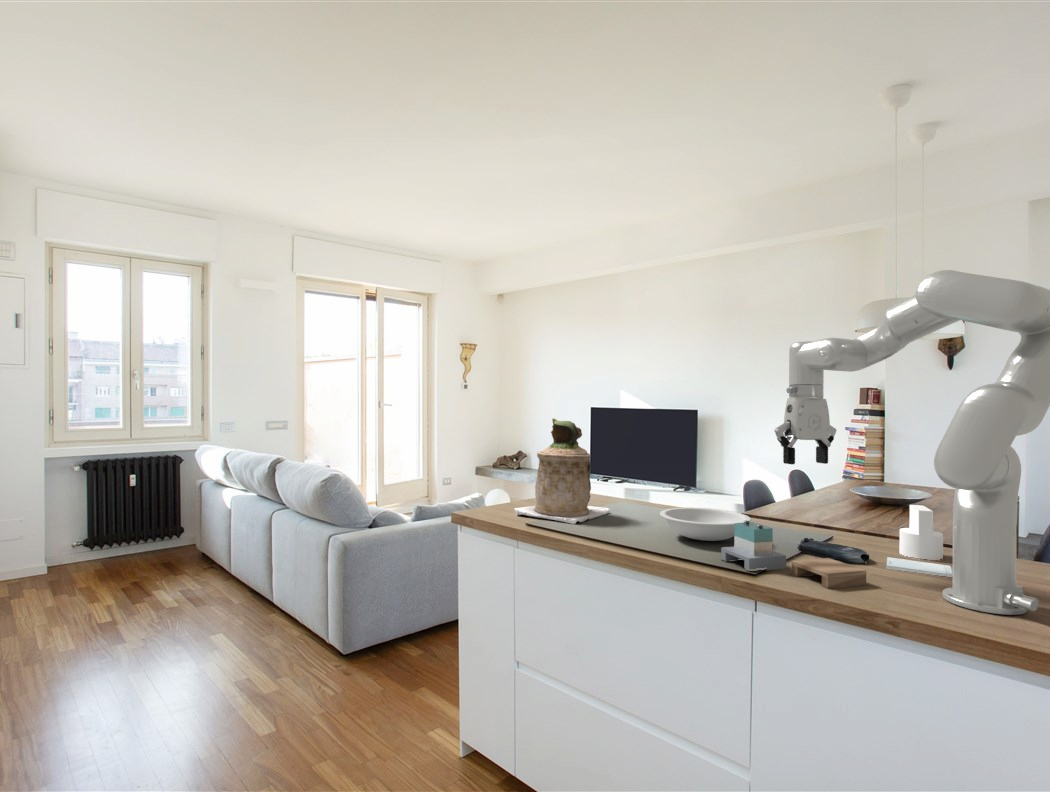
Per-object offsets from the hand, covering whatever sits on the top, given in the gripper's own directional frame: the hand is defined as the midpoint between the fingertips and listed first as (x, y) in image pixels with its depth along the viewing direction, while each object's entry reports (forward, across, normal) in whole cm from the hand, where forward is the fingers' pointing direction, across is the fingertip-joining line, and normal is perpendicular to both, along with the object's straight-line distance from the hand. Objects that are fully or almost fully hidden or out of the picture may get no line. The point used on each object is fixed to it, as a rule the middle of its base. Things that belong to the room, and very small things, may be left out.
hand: (805, 463), depth 140 cm
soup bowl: (+23, -12, +25) cm, 36 cm away
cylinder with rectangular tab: (+24, +32, -4) cm, 40 cm away
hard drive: (+24, +20, -13) cm, 34 cm away
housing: (+20, -15, 0) cm, 25 cm away
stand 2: (+23, -7, -14) cm, 28 cm away
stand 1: (+23, -15, 0) cm, 28 cm away
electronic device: (+24, +10, +1) cm, 26 cm away
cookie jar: (+23, -38, +66) cm, 80 cm away
